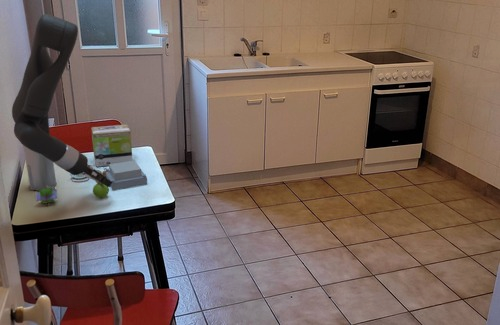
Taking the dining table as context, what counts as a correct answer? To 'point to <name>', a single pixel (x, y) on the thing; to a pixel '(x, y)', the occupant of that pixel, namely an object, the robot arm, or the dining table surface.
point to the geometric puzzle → (46, 194)
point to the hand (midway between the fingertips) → (104, 181)
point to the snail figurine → (100, 187)
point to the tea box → (111, 144)
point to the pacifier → (79, 178)
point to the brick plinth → (126, 181)
